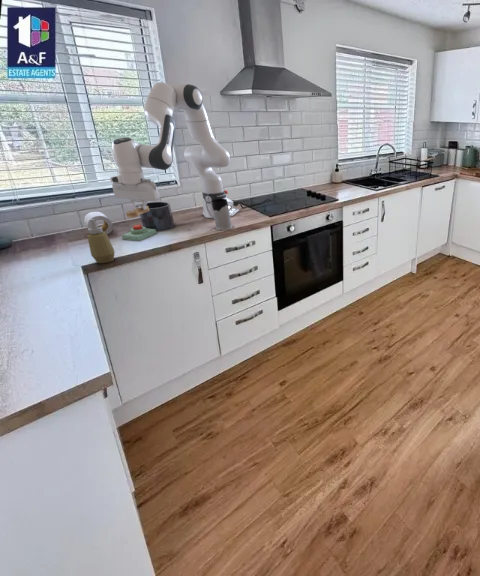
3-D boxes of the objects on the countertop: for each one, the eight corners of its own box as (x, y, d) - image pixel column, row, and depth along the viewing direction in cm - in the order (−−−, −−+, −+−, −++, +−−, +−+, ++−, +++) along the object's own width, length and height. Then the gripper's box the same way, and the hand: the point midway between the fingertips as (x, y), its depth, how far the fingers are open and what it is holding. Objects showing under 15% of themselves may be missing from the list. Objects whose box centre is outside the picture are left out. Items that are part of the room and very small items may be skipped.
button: (137, 227, 185) (136, 224, 184) (144, 228, 184) (143, 225, 183) (132, 230, 182) (131, 226, 181) (138, 230, 181) (137, 227, 180)
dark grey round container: (156, 222, 205) (151, 200, 200) (180, 224, 203) (175, 202, 198) (136, 230, 192) (130, 207, 187) (162, 232, 190) (156, 209, 185)
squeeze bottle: (92, 266, 151) (77, 223, 143) (95, 259, 157) (81, 218, 149) (116, 263, 154) (102, 221, 146) (118, 256, 161) (105, 216, 153)
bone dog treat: (143, 210, 172) (142, 205, 171) (152, 211, 171) (150, 206, 170) (124, 217, 162) (123, 211, 161) (133, 218, 161) (132, 212, 160)
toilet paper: (115, 233, 187) (109, 214, 182) (91, 237, 180) (84, 217, 176) (110, 228, 193) (105, 210, 188) (87, 232, 186) (80, 213, 182)
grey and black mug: (224, 231, 196) (219, 203, 189) (204, 227, 200) (198, 199, 194) (236, 226, 203) (231, 199, 196) (216, 223, 208) (211, 196, 201)
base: (141, 231, 190) (138, 224, 189) (156, 233, 189) (154, 225, 187) (122, 239, 180) (120, 231, 178) (138, 240, 179) (136, 232, 177)
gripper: (159, 178, 163) (166, 209, 169) (118, 175, 165) (127, 205, 172) (148, 181, 157) (156, 212, 163) (106, 178, 160) (116, 209, 166)
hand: (141, 209), depth 168 cm, fingers closed on bone dog treat, 2 cm apart
